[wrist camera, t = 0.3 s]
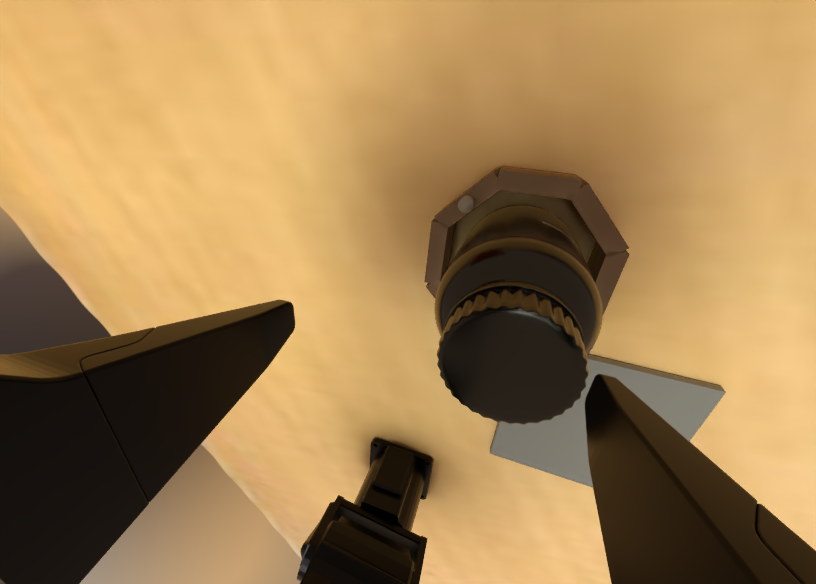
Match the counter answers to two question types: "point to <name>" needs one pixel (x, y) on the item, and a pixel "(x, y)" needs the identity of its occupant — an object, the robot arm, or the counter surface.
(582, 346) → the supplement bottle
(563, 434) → the rubber mat
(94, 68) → the counter surface
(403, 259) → the counter surface
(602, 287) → the walnut collar
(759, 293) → the counter surface
